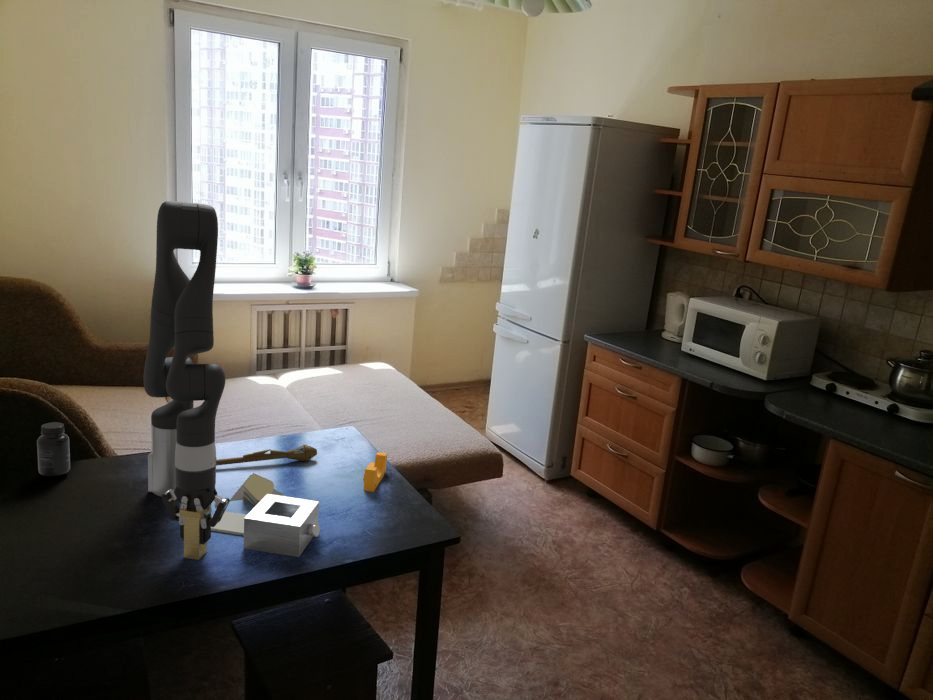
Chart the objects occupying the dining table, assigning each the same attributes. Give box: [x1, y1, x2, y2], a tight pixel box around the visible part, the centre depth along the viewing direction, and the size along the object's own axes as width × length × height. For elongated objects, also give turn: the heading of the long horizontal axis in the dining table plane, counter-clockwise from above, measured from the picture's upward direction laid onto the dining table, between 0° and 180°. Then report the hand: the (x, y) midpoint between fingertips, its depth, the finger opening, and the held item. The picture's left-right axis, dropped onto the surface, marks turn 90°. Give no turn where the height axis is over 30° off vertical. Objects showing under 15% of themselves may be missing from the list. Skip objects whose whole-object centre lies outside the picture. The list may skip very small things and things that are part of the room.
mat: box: [211, 510, 248, 537], centre depth 158 cm, size 10×8×1 cm
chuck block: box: [243, 494, 321, 558], centre depth 153 cm, size 14×12×7 cm
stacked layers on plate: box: [229, 472, 285, 507], centre depth 170 cm, size 10×9×6 cm
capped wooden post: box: [179, 507, 209, 561], centre depth 144 cm, size 4×4×11 cm
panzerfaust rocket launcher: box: [216, 444, 318, 467], centre depth 189 cm, size 5×35×5 cm, turn 113°
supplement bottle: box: [36, 421, 71, 477], centre depth 174 cm, size 7×7×12 cm
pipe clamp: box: [362, 451, 388, 493], centre depth 185 cm, size 12×4×6 cm, turn 171°
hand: (195, 540), depth 144 cm, fingers closed on capped wooden post, 3 cm apart
